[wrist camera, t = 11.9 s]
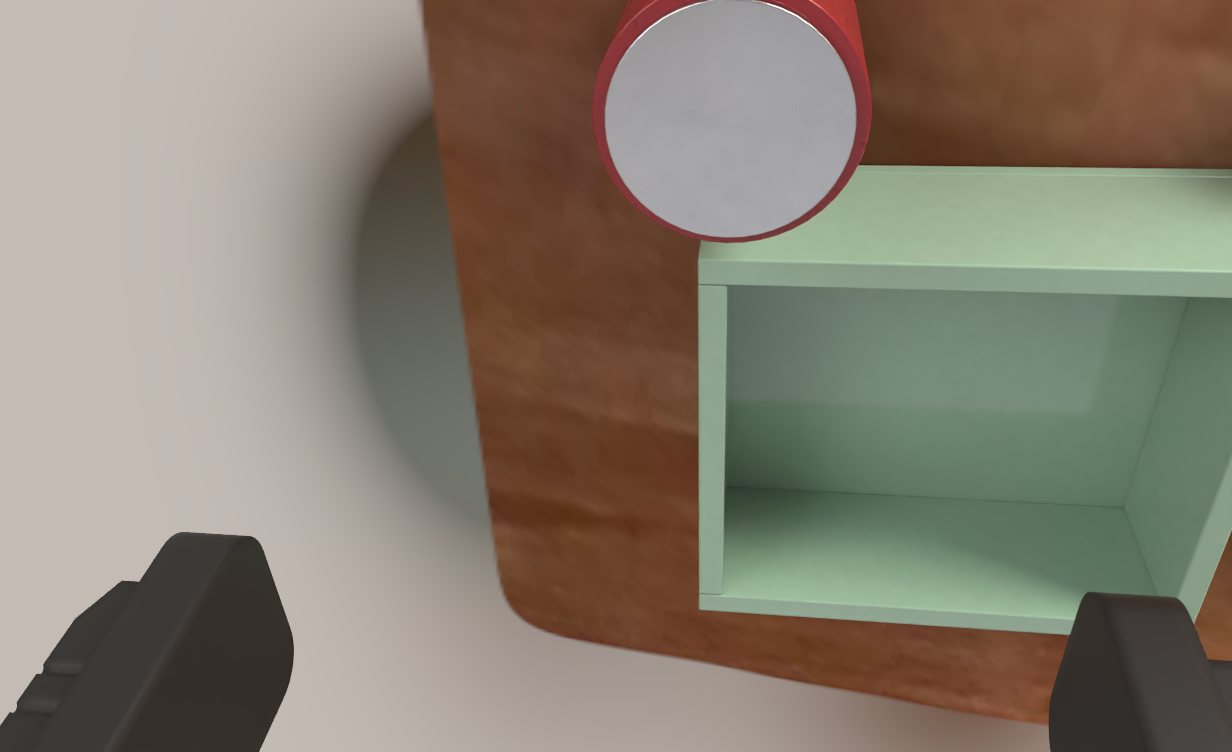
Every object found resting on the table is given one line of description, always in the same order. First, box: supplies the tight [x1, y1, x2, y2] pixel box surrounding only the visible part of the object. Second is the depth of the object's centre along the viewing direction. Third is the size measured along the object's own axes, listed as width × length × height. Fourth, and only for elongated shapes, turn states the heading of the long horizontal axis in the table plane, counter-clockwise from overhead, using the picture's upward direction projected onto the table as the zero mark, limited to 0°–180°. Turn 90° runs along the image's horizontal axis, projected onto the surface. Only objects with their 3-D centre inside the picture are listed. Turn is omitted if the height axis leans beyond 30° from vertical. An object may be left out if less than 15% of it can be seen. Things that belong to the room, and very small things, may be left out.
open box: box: [698, 165, 1232, 635], centre depth 33 cm, size 14×16×6 cm
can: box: [592, 0, 872, 243], centre depth 25 cm, size 6×6×10 cm
